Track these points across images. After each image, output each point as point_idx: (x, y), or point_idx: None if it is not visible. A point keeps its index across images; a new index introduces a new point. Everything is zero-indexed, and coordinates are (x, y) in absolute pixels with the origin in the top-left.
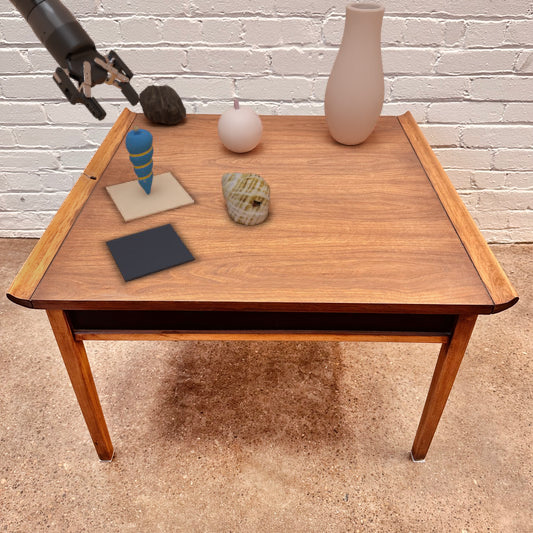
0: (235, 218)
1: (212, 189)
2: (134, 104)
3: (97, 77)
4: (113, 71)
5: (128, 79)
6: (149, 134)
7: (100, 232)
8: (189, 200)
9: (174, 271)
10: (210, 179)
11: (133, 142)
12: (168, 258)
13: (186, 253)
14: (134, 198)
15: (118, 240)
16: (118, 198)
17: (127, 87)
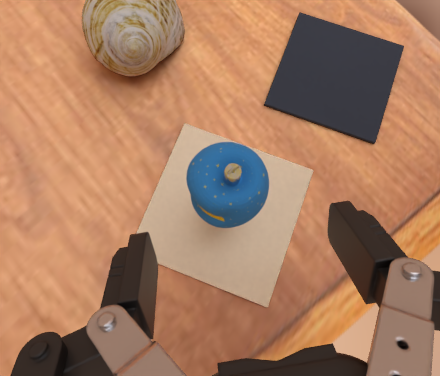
0: (183, 28)
1: (124, 135)
2: (154, 254)
3: (299, 365)
4: (159, 366)
5: (93, 317)
6: (205, 150)
7: (363, 178)
8: (187, 132)
9: (336, 18)
10: (95, 165)
11: (262, 161)
12: (328, 37)
13: (300, 28)
14: (254, 219)
15: (357, 129)
16: (276, 244)
17: (140, 284)
